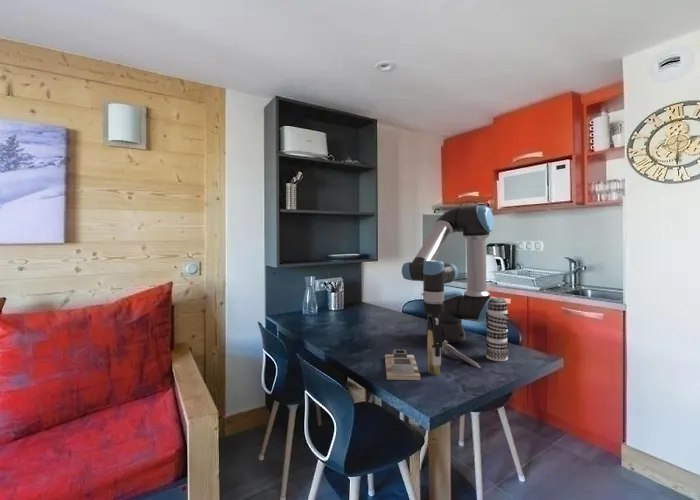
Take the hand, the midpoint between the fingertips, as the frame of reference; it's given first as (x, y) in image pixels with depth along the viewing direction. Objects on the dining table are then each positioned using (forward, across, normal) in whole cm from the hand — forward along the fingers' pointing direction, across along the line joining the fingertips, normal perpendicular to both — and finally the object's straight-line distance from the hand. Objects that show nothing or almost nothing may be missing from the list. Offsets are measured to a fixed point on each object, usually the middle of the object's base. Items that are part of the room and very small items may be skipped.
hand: (433, 358), depth 132 cm
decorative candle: (+6, -17, +29) cm, 34 cm away
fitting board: (+5, -4, -12) cm, 14 cm away
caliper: (+6, -14, +13) cm, 20 cm away
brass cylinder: (+5, 0, 0) cm, 5 cm away
